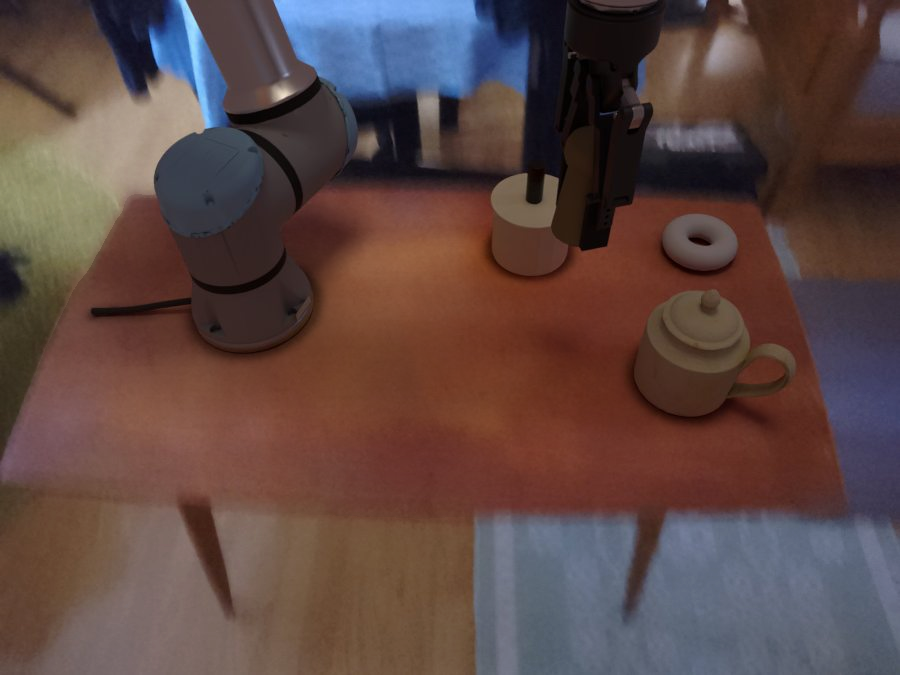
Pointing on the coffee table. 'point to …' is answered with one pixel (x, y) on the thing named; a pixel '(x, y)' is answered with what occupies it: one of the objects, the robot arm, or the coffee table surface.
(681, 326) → the sugar bowl
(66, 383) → the coffee table surface
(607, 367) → the coffee table surface
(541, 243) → the pot
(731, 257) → the donut
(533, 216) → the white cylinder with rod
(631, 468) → the coffee table surface
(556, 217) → the brown pawn
